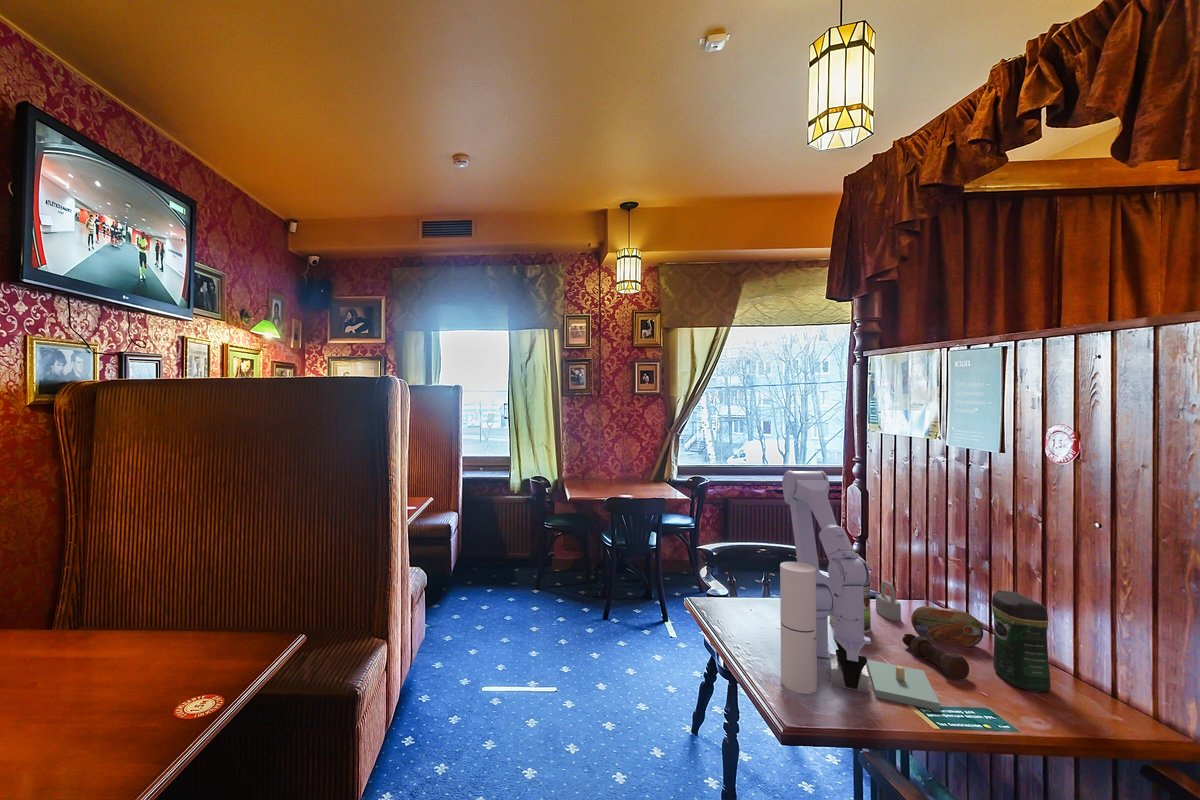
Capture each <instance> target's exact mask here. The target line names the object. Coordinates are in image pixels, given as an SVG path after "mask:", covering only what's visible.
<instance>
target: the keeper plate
mask: <svg viewBox="0 0 1200 800" xmlns="http://www.w3.org/2000/svg"><path fill="white" fill-rule="evenodd" d="M866 668H867V671H868V675H869V680H870V683H871V686H872V690H873V693H874V694H873V695H874V698H879V699H882V700H888V701H891V702H896V703H901V704H904V705H905V704H906V705H910V706H916V707H919V708H925V709H928V710H932V711H938V712H941V704H940V703H941V702H940V701H939V699H938V697H937V695H936V692H935V691H934V689H933V687H932V684H931V683H930V681H929V679H928V677H927V674H926V673H925V671H924V669H923V670H922V669H917V668H913V667H908V666H902V665H896V664H892V663H888V662H882V661H876V660H871V659H867V663H866Z"/></svg>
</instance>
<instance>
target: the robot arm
mask: <svg viewBox="0 0 1200 800" xmlns="http://www.w3.org/2000/svg"><path fill="white" fill-rule="evenodd" d="M781 485H782V492H783V493H782V494H783V499H784V503H785V504H787V505H789V507H790V516H791V523H792V530H793V539H794V545H795V553H796V562H800V563H805V564H809V565H811V566H813V567H815V569H816V642H817V657H818V658H824V659H828V660H830V654H831V648H830V643H829V626H828V625H829V622H828V618H829V617H830V616H831V612H832V611H833V610H834V626H833V632H832V636H833V640H834V643H835V645H836V647H837V649H835V655H836V656H837V658H838V660H839V662H840V664H841V667H842V672H843V678H844V683H845V686H846V687H848V688H852V689H857V687H858V684H859V679H860V675H861V672H862V669H863V668H864V666H865V665H866V666H867V660H868V659H867V656H863V655H859V652H860V651H861V650H862V648H863V647H864V646H865V645H871V644H872V641H871V638H870V637H869V636H865V634H864V587H863V586H866V585H868V583H869V580H870V581H871V573H870V569H869V567H868V563H867V562H866V560H864V559H863V558H862V557H861V556H860V554H858V552H857V553H856V552H855V550H854V547H853V545H852V543H851V541H850V539H849V537H848V535H847V533H846V530H845V529H844V528H843V527H841V526H839V525H838V523H837V521H836V520H837V519H836V518H835V515H834V511H833V509H832V505H831V503H830V500H829V497H828V496H829V493H830V481H829V477H828V475H827V474H826V472H825V471H823V470H790V469H789V470H786V471H785V472H784V474H783V477H782V479H781ZM812 513H813V515H814V517H815V519H816V521H817V523H818V525H819V528H820V529H821V530H820V532H819V534H818V538H819V540H820V542H821V545H822V547H823V549H824V553H825V555H826V557H827V559H828V562H829V563H828V567H827V574H828V577H829V578H830V580H829V578H828V577H827V576H825V574H823V573H821V572H820V571H821V570H820V565H819V557H818V551H817V543H816V537H815V529H814V523H813V515H812ZM852 689H851V690H852Z"/></svg>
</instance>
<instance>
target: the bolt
mask: <svg viewBox="0 0 1200 800" xmlns="http://www.w3.org/2000/svg"><path fill="white" fill-rule="evenodd" d="M902 642H903V644H904V645H905V646H907V648H910V649H911V651H912V653H913V654H914V655H915V656H916V657H918V658H921V659H925V658H926V659H927V660H929V661H931V662H933V664H936V665H937V666H939V667H941V669H942V670H943V672H944V674H945V676H946V677H947V678H948V679H950V680H952V681H964V680H966V679H967V677H968V676H969V673H970V664H969V663H968V661H967V660H966V658H965V657H964V656H963V655H961V654H959V653H950V654H949V653H948V654H947V653H946V652H944V651H943V650H941V649H939V648H937V647H935V646H934V645H932V642H930V641H929V640H928V639H927V638H925V637H921V636H919V635H918V636H916V635H914V634H912V633H905V634H904V635H903V637H902Z"/></svg>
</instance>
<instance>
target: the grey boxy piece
mask: <svg viewBox="0 0 1200 800" xmlns="http://www.w3.org/2000/svg"><path fill="white" fill-rule="evenodd" d="M829 672H830V676H829V677H830V681H831V686H834V687H840V688H844V689H847V690H852V691H857V692H862V693H867V694H869V693H870V676H869V672H868V669H867V664H866V665H865V666H864V668H863V669H862V672H861V675H860V679H859V684H858V687H857V689H852V688H848V687H846V686H845V683H844V678H843V672H842V667H841V664H840V662H839V660H838V658H837V656H836V653H834V654H833V653H830V659H829Z"/></svg>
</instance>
